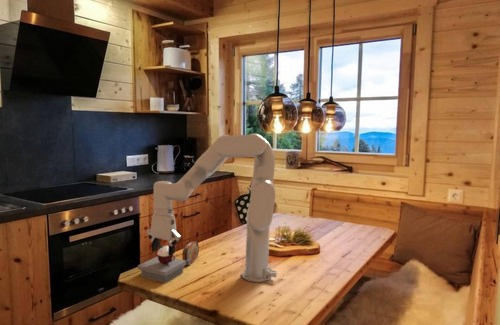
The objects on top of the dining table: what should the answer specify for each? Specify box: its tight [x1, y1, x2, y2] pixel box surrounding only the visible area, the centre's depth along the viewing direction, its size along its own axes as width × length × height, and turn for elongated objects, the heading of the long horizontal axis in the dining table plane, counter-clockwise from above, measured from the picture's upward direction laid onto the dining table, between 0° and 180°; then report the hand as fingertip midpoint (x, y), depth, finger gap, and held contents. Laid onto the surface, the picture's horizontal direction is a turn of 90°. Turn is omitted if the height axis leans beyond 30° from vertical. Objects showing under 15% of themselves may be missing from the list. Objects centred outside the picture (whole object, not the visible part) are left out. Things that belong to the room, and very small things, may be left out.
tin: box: [181, 241, 200, 266], centre depth 167 cm, size 15×3×8 cm, turn 168°
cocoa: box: [156, 238, 176, 264], centre depth 150 cm, size 10×6×12 cm, turn 46°
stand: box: [137, 255, 187, 284], centre depth 151 cm, size 14×14×5 cm
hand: (163, 252), depth 150 cm, fingers closed on cocoa, 8 cm apart
